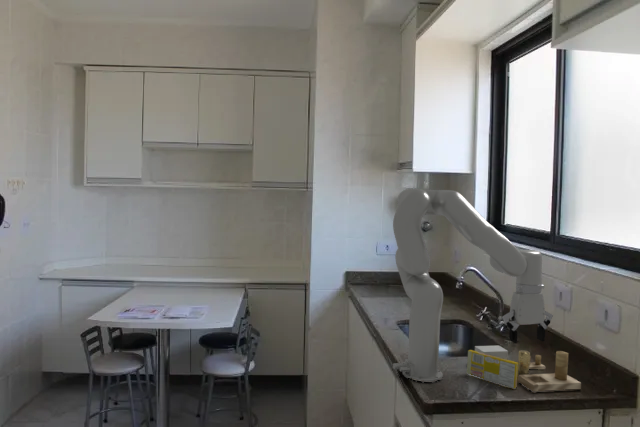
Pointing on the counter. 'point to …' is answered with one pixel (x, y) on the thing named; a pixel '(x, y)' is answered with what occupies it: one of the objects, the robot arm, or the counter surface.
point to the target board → (552, 377)
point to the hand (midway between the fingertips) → (527, 341)
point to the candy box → (492, 368)
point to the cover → (493, 351)
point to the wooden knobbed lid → (536, 363)
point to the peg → (523, 362)
